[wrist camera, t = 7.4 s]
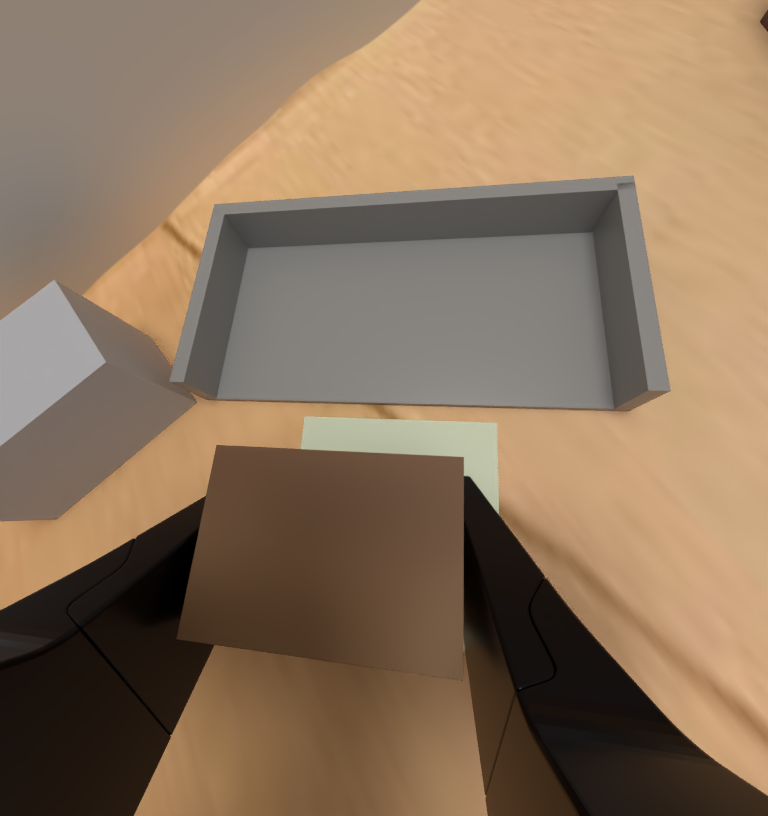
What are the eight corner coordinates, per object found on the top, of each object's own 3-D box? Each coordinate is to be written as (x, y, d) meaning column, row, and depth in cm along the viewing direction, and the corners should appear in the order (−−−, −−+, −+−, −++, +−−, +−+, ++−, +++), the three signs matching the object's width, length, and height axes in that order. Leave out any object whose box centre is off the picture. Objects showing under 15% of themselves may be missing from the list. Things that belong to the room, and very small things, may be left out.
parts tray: (629, 410, 16) (670, 390, 14) (207, 399, 20) (169, 381, 17) (604, 224, 19) (633, 175, 17) (241, 241, 23) (214, 204, 20)
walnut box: (443, 572, 14) (463, 680, 5) (329, 560, 15) (176, 638, 6) (445, 485, 15) (464, 451, 6) (338, 478, 16) (217, 440, 7)
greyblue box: (59, 519, 19) (-99, 524, 13) (23, 442, 21) (-129, 418, 15) (198, 403, 20) (106, 361, 14) (153, 338, 22) (54, 279, 16)
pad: (500, 652, 14) (502, 656, 14) (280, 623, 16) (276, 626, 16) (495, 424, 17) (496, 422, 17) (307, 418, 19) (304, 416, 18)
